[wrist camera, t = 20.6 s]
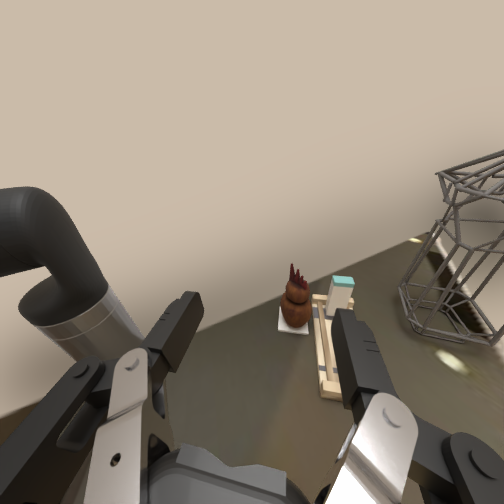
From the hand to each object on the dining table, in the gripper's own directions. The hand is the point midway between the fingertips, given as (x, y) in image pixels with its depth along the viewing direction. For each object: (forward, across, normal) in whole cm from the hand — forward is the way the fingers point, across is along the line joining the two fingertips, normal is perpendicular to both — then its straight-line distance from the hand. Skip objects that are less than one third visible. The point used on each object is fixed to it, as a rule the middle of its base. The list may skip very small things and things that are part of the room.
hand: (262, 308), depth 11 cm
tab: (+22, -13, +26) cm, 37 cm away
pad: (+20, -4, +28) cm, 35 cm away
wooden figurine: (+20, -4, +28) cm, 34 cm away
